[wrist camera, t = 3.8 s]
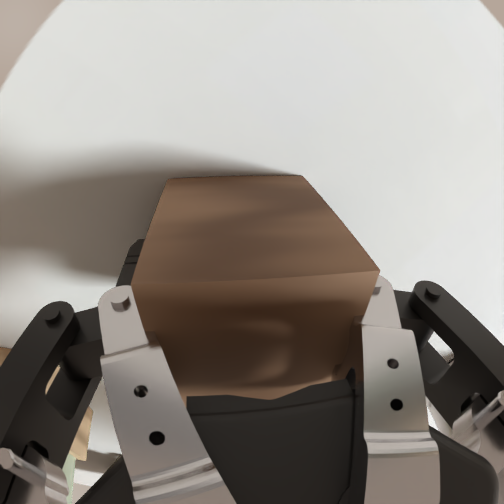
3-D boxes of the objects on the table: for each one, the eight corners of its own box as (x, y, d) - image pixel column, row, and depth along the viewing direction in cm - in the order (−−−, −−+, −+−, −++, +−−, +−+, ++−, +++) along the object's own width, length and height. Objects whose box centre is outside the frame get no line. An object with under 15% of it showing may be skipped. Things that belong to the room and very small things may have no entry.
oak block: (51, 352, 15) (31, 416, 11) (93, 409, 19) (85, 461, 15) (-21, 341, 14) (-43, 390, 10) (24, 397, 18) (13, 441, 14)
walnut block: (302, 175, 11) (380, 270, 6) (290, 281, 13) (330, 393, 8) (167, 178, 10) (130, 284, 5) (180, 286, 13) (173, 408, 8)
